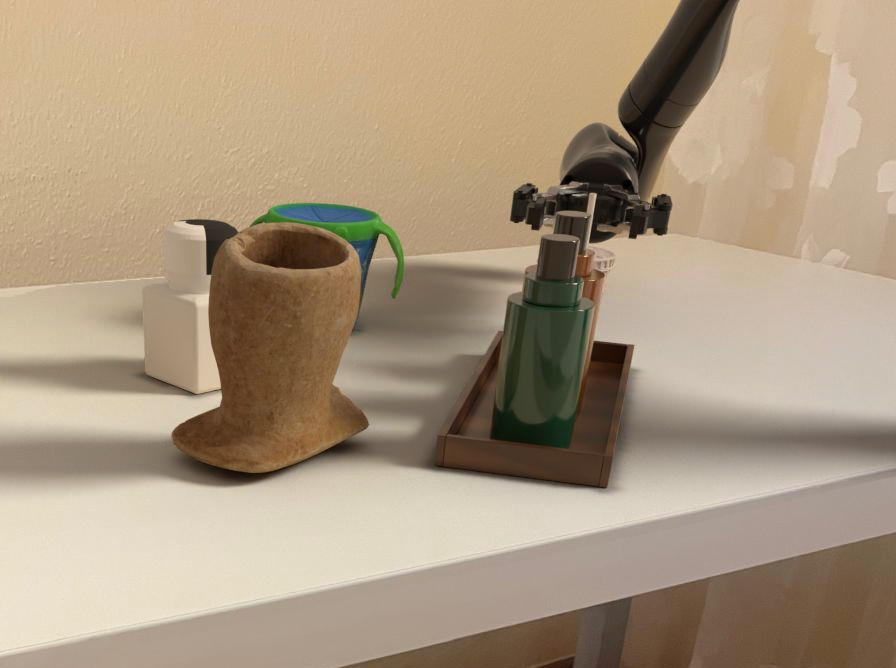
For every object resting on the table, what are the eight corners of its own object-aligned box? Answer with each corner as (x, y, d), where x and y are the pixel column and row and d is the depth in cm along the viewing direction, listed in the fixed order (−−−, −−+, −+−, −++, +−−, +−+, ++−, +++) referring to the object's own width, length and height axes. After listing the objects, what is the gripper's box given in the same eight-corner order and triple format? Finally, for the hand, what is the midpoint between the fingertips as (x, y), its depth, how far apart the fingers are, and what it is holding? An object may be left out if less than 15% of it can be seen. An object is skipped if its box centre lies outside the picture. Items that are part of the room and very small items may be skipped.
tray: (495, 355, 110) (498, 330, 109) (629, 369, 107) (634, 344, 106) (434, 465, 85) (437, 435, 84) (607, 488, 83) (613, 456, 82)
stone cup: (277, 503, 78) (283, 257, 70) (149, 458, 84) (141, 226, 76) (410, 448, 88) (430, 226, 79) (287, 411, 94) (294, 201, 85)
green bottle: (587, 446, 88) (624, 240, 80) (536, 463, 85) (569, 249, 77) (523, 425, 92) (552, 225, 83) (472, 440, 88) (497, 234, 80)
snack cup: (411, 324, 118) (421, 211, 112) (379, 349, 110) (387, 229, 104) (265, 305, 122) (267, 195, 117) (223, 328, 114) (223, 211, 108)
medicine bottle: (209, 361, 105) (207, 211, 98) (262, 380, 101) (265, 225, 94) (143, 375, 101) (137, 219, 94) (196, 395, 97) (194, 234, 90)
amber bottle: (597, 407, 96) (631, 216, 88) (551, 421, 93) (582, 224, 84) (538, 389, 99) (566, 204, 91) (491, 402, 96) (516, 211, 88)
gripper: (531, 146, 117) (510, 167, 104) (680, 157, 114) (677, 180, 101) (520, 229, 121) (498, 260, 108) (663, 242, 118) (659, 275, 105)
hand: (585, 221), depth 105 cm, fingers open, 8 cm apart
